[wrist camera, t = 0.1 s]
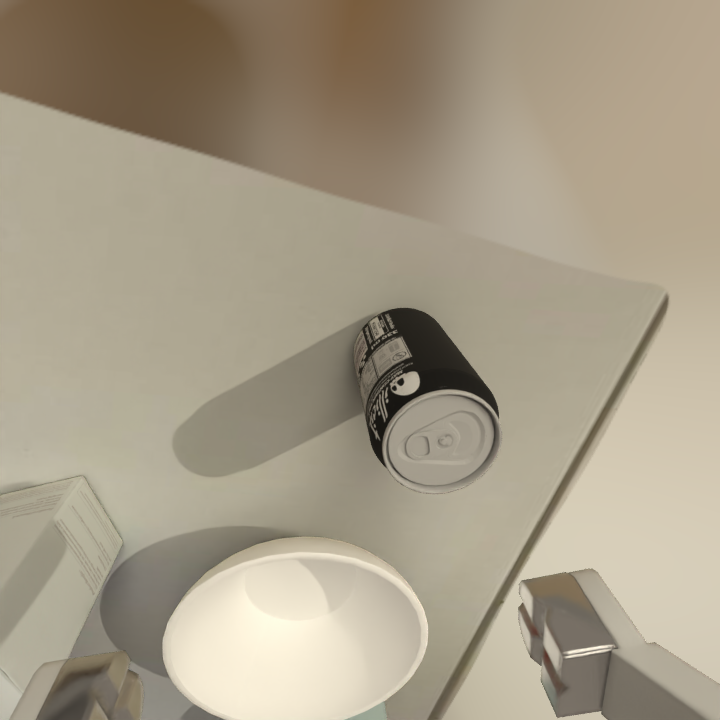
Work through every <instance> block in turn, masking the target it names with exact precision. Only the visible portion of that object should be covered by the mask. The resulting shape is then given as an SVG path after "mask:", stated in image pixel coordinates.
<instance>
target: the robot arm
mask: <svg viewBox="0 0 720 720" xmlns="http://www.w3.org/2000/svg"><path fill="white" fill-rule="evenodd" d="M519 595H520V597H521V599H522V601H523V603H522V604H521V605H520V606H519V608H518V620H519V625H520V629H521V634H522V637H523V640H524V643H525V645H526V648H527V650H528V653H529V655H530V657H531V658H532V659H533V660H534V661H536V662H537V663H538V664H539V665H540V666H542V669H541V682H542V685H543V687H544V689H545V691H546V693H547V696H548V698H549V700H550V703H551V705H552V707H553V709H554V711H555V714H556V716H557V717H558V718H559V717H565V716H572V715H578V714H585V713H591V712H598V711H602V712H601V714H602V715H603V716H604V717H605V718H606V719H608V720H720V684H719V683H717V682H715V681H714V680H712V679H711V678H709V677H708V676H706V675H705V674H703V673H702V672H700V671H698V670H697V669H695V668H694V667H692V666H691V665H689V664H688V663H686V662H685V661H683V660H681V659H680V658H678V657H677V656H675V655H674V654H672V653H671V652H669V651H668V650H666V649H664V648H663V647H661V646H660V645H658V644H656V643H655V642H654V643H646V641H645V639H644V638H643V637H642V635H641V634H640V632H639V631H638V629H637V628H636V626H635V625H634V624H633V622H632V621H631V620H630V618H629V616H628V615H627V614H626V612H625V611H624V609H623V608H622V607H621V605H620V604H619V602H618V601H617V599H616V598H615V597H614V595H613V594H612V592H611V591H610V589H609V588H608V587H607V585H606V584H605V582H604V581H603V579H602V578H601V577H600V575H599V574H598V572H596V571H595V570H593V569H584V570H579V571H575V572H569V573H566V572H565V573H559V574H554V575H549V576H543V577H538V578H533V579H527V580H522V581H521V582H520V584H519ZM130 662H131V659H130V658H129V656H128V654H127V653H126V651H125V650H123V651H116V652H110V653H103V654H97V655H90V656H84V657H77V658H69V659H63V660H58V661H52V662H46V663H43V664H42V665H41V666H40V667H39V668H38V669H37V670H36V671H35V673H34V674H33V676H32V678H31V680H30V682H29V684H28V686H27V687H26V689H25V691H24V693H23V695H22V697H21V698H20V700H19V702H18V704H17V706H16V708H15V709H14V711H13V713H12V715H11V717H10V719H9V720H140V718H141V715H142V711H143V700H144V690H143V684H142V681H141V679H140V677H139V675H138V674H137V673H135V672H133V671H131V670H129V669H128V668H129V665H130Z"/></svg>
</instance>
